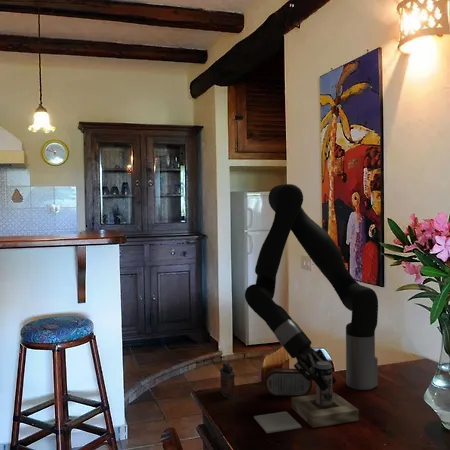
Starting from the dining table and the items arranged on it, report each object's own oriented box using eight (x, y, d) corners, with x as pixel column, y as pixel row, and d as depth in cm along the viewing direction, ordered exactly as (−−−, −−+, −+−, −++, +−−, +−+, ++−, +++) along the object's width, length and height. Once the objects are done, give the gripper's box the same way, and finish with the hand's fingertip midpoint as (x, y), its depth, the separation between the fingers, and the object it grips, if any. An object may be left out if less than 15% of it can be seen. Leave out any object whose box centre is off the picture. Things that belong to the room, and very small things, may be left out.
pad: (286, 413, 142) (286, 411, 142) (301, 427, 132) (301, 426, 132) (253, 417, 139) (253, 416, 139) (266, 433, 129) (266, 431, 129)
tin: (312, 394, 156) (311, 368, 155) (312, 398, 152) (312, 371, 152) (264, 393, 157) (264, 367, 157) (264, 396, 154) (264, 370, 154)
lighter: (217, 390, 159) (217, 360, 159) (227, 389, 161) (226, 359, 160) (227, 399, 152) (227, 368, 152) (237, 397, 153) (237, 366, 153)
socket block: (333, 401, 149) (333, 391, 149) (358, 420, 136) (358, 409, 136) (291, 407, 145) (291, 397, 145) (313, 427, 132) (313, 416, 132)
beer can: (322, 408, 138) (322, 366, 137) (312, 402, 142) (311, 361, 141) (336, 405, 140) (335, 363, 139) (325, 399, 144) (324, 359, 143)
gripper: (287, 336, 139) (327, 386, 132) (311, 325, 150) (349, 371, 143) (272, 351, 142) (310, 401, 135) (296, 339, 153) (332, 385, 147)
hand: (330, 385), depth 139 cm, fingers closed on beer can, 4 cm apart
